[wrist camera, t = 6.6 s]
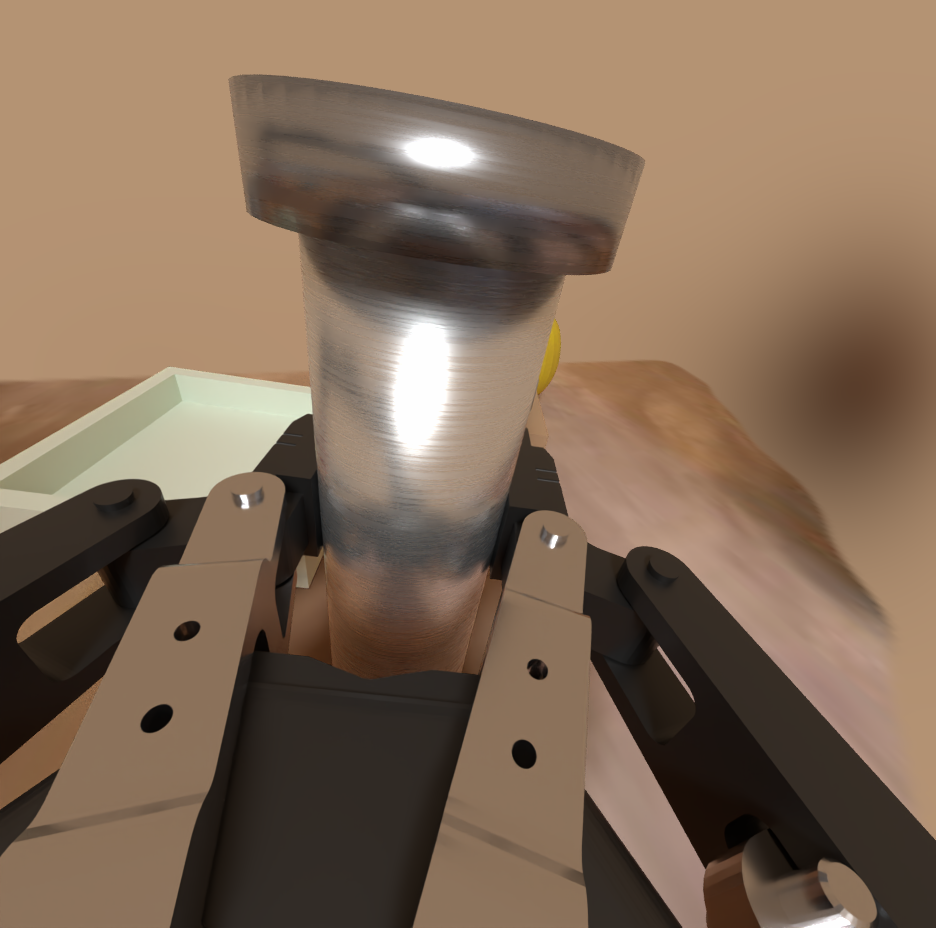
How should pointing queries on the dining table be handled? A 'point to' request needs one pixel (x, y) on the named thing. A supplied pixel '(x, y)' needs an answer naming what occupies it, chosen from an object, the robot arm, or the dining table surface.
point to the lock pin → (421, 330)
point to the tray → (158, 443)
